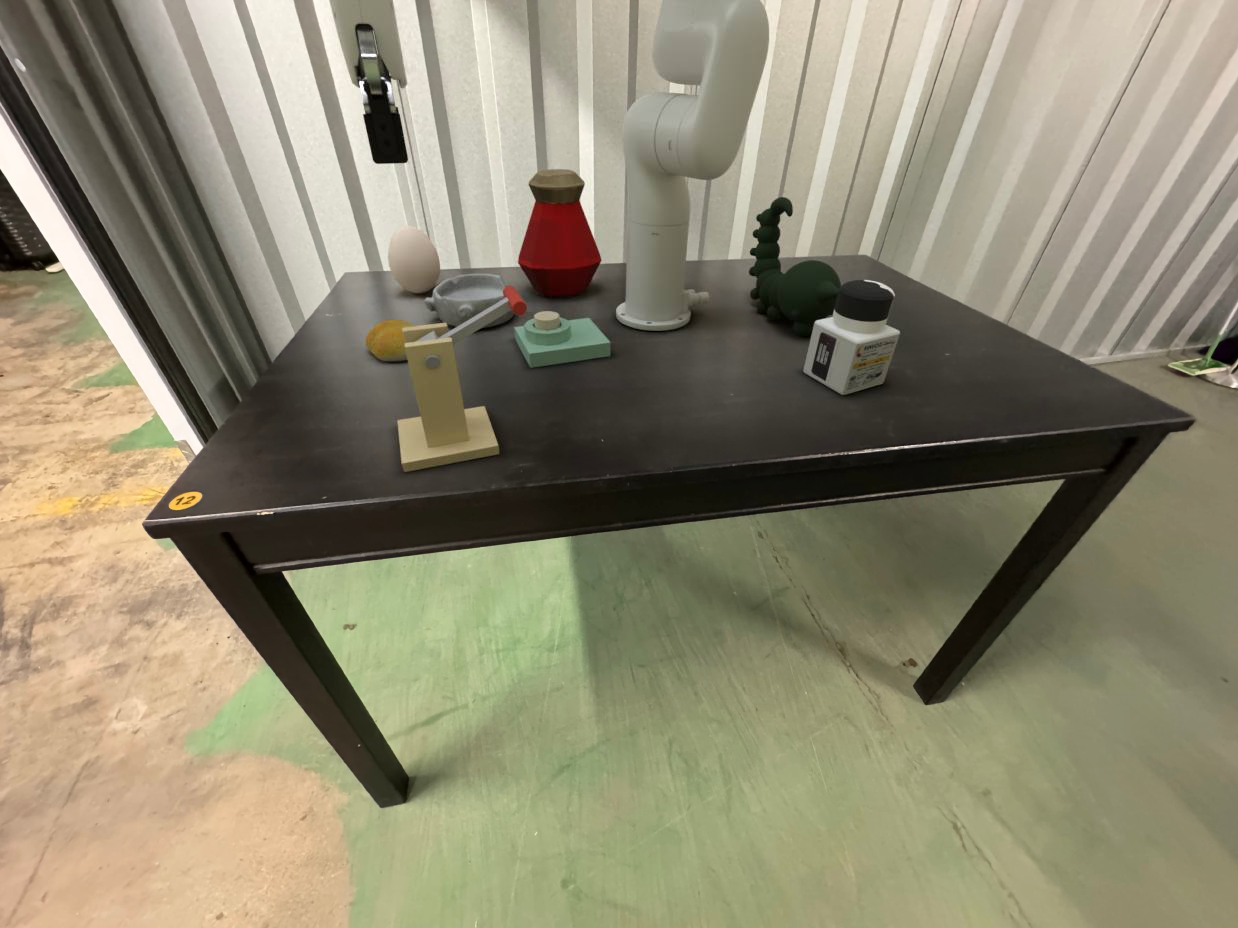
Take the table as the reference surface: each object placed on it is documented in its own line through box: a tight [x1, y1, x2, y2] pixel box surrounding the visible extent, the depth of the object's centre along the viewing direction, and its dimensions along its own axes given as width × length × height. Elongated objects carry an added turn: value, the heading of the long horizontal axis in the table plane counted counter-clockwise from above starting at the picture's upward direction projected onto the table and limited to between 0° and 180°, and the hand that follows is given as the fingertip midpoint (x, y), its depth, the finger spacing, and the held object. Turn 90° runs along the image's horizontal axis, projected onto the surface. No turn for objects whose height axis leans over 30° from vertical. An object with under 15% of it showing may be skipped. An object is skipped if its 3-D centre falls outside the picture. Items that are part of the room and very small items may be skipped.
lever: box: [415, 285, 528, 346], centre depth 56 cm, size 12×5×2 cm, turn 111°
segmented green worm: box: [748, 196, 842, 337], centre depth 88 cm, size 9×19×25 cm
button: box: [533, 310, 560, 330], centre depth 80 cm, size 4×4×2 cm
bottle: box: [517, 168, 602, 299], centre depth 98 cm, size 16×14×20 cm
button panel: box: [513, 316, 612, 369], centre depth 82 cm, size 12×10×4 cm
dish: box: [424, 273, 515, 329], centre depth 91 cm, size 14×14×5 cm
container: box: [802, 279, 901, 396], centre depth 72 cm, size 8×8×13 cm
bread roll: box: [364, 319, 415, 362], centre depth 80 cm, size 8×9×4 cm
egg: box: [387, 225, 441, 294], centre depth 98 cm, size 9×9×12 cm
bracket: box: [397, 322, 500, 473], centre depth 58 cm, size 10×9×13 cm
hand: (390, 156), depth 57 cm, fingers open, 9 cm apart
